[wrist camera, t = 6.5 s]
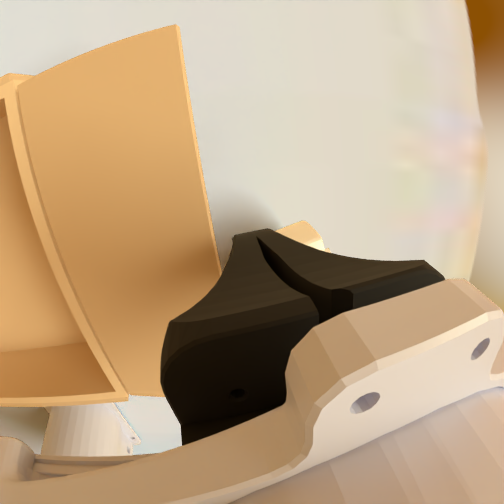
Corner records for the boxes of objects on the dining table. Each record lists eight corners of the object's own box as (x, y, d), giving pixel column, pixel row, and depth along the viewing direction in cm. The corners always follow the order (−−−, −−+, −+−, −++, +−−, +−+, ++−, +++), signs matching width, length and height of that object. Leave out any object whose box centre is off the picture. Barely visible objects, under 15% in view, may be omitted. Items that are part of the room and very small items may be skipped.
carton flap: (130, 395, 17) (132, 388, 17) (247, 396, 16) (247, 389, 17) (17, 85, 9) (24, 84, 9) (175, 24, 8) (179, 26, 9)
